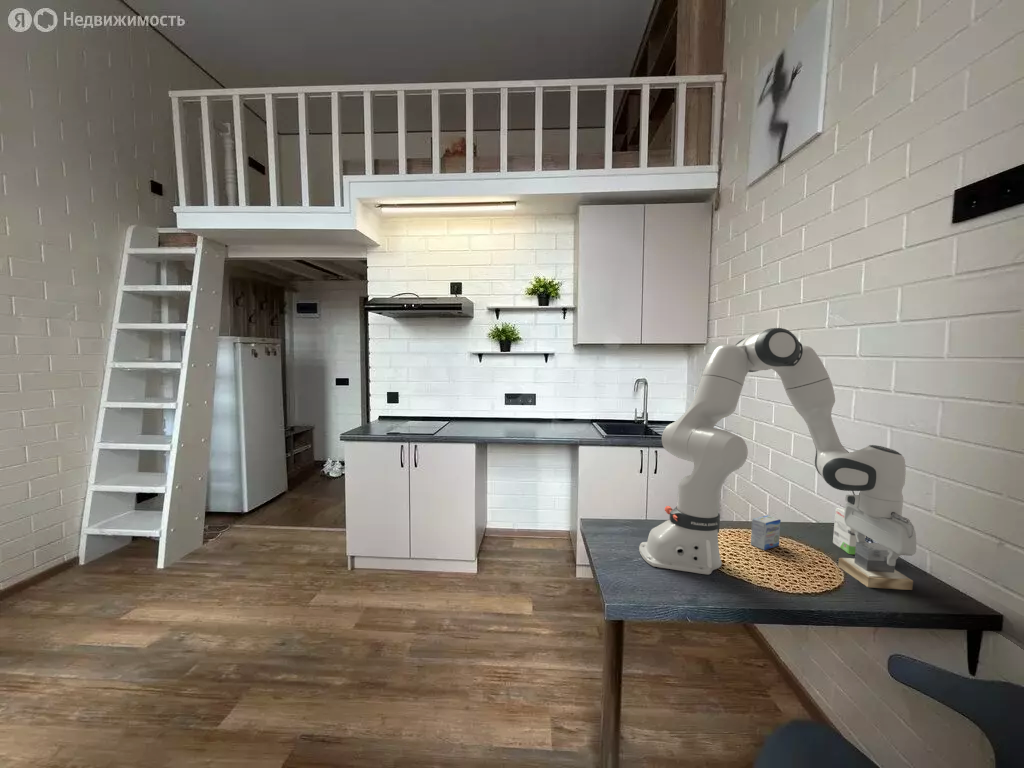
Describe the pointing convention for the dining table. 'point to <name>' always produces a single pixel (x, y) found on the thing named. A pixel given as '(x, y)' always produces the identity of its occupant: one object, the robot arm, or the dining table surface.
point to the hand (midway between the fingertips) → (875, 555)
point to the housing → (872, 557)
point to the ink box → (844, 533)
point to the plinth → (875, 576)
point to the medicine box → (765, 532)
